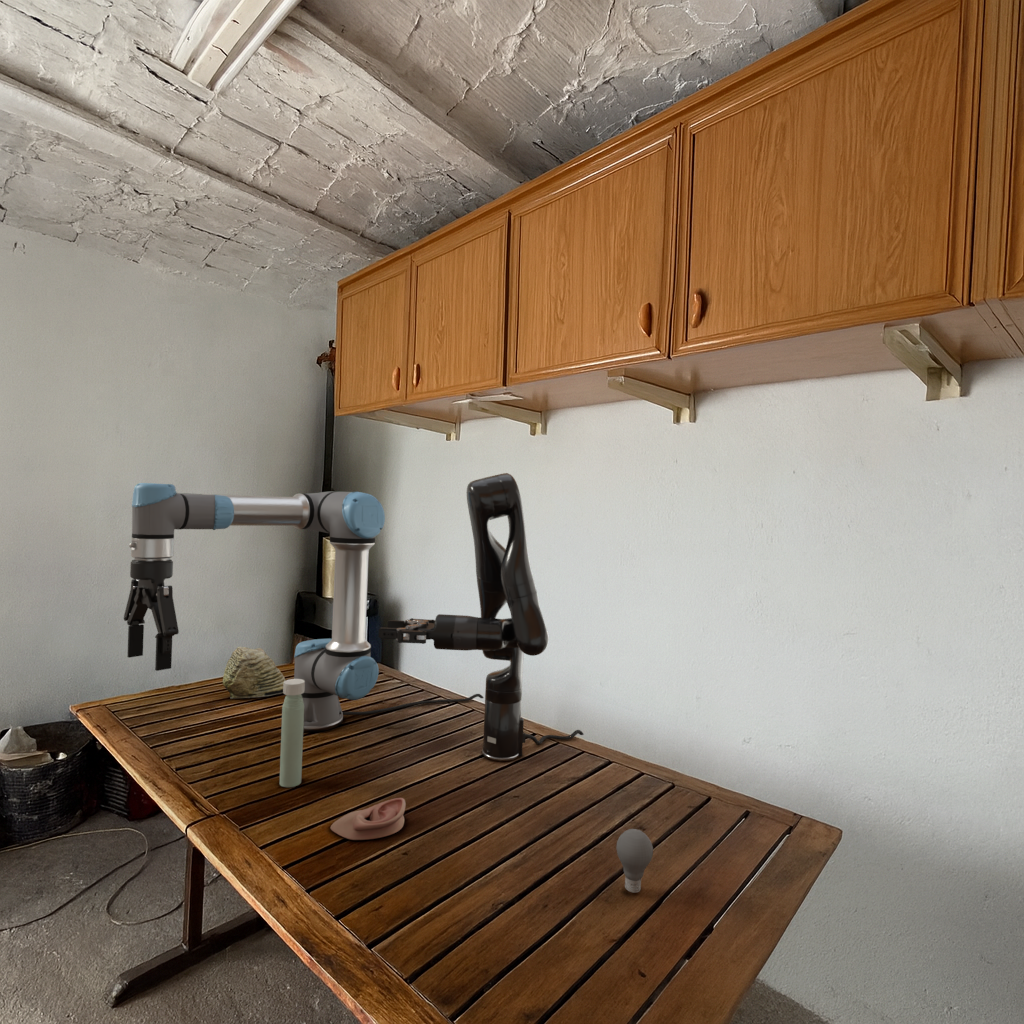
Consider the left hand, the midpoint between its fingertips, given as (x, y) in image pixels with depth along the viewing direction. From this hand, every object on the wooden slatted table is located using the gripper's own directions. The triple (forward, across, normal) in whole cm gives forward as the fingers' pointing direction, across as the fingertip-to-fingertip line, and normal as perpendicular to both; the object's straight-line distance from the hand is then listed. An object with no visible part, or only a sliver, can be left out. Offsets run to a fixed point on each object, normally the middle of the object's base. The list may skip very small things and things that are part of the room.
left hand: (148, 662), depth 129 cm
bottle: (+28, +15, +24) cm, 40 cm away
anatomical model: (+28, +42, +24) cm, 56 cm away
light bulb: (+28, +90, +41) cm, 103 cm away
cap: (+6, +15, +24) cm, 29 cm away
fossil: (+28, -47, +50) cm, 74 cm away
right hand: (-7, +30, +36) cm, 47 cm away
